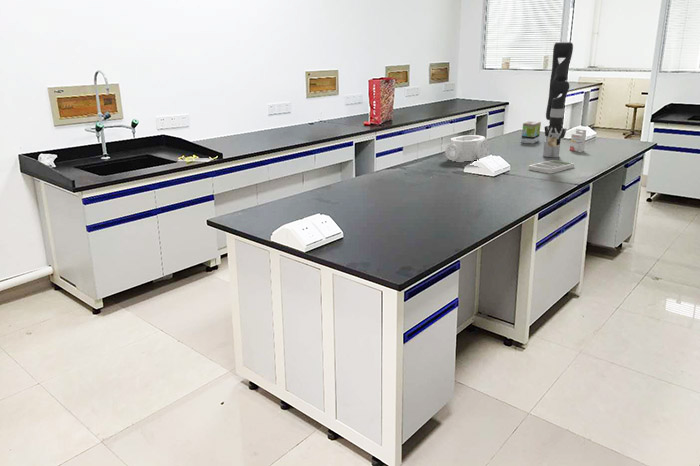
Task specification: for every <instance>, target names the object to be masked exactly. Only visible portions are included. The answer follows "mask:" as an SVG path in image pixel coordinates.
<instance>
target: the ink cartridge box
mask: <svg viewBox="0 0 700 466" xmlns="http://www.w3.org/2000/svg"><path fill="white" fill-rule="evenodd" d="M586 137H587V130H586V129H579V128H576V129H575V133H571V138H570V145H569V151H571V152H577V151H578V153H581V152H585V145H586V139H587V138H586Z"/></svg>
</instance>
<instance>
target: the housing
mask: <svg viewBox="0 0 700 466" xmlns="http://www.w3.org/2000/svg"><path fill="white" fill-rule="evenodd" d="M490 144H491V143H490V141H489V140H488V139H486V137H485V136H483V135H478V134H472V135H471V134H470V135H469V134H467V135H466V134H465V135H459V136H454V137H451V138H450V144H448V145H447V146H446V148H445V149H444V150H445V151H444V152H445V156H446V158H447V159H448V160H452V161H451V162H454V161H456V163H465V162H464V161H471V162H475V161H474V160H477V159H480V158H483V157H486V156H488V157H489V154H490V152H491V145H490Z"/></svg>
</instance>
